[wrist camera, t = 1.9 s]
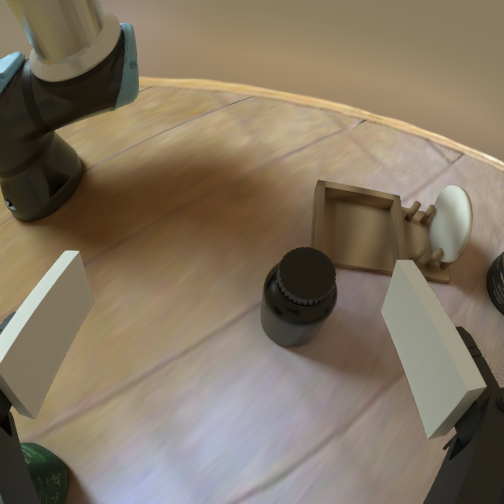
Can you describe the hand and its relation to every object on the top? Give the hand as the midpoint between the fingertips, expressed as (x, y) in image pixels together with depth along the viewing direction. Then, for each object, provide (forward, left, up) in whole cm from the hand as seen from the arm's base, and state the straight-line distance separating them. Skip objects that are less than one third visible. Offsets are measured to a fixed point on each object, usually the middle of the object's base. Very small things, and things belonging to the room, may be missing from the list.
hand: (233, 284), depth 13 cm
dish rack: (-11, +23, -23) cm, 35 cm away
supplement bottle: (-4, +7, -24) cm, 25 cm away
